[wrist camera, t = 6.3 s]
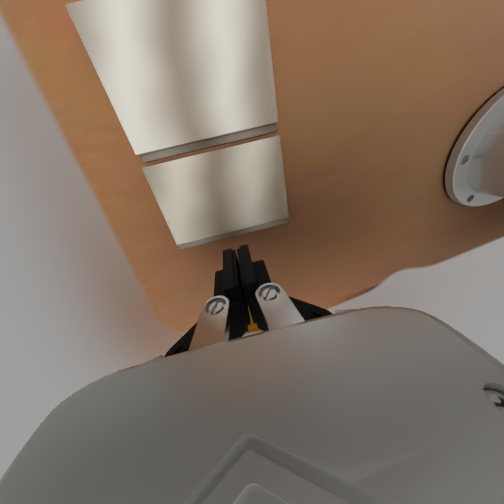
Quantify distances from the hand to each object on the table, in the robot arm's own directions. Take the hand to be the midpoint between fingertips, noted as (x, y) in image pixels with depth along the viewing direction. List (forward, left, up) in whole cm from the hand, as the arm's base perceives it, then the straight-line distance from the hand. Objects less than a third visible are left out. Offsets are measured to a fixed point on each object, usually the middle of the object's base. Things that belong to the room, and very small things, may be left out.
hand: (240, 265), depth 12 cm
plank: (0, -3, -9) cm, 9 cm away
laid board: (0, -12, -9) cm, 15 cm away
